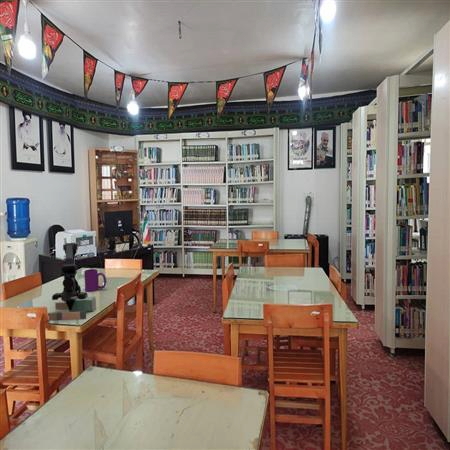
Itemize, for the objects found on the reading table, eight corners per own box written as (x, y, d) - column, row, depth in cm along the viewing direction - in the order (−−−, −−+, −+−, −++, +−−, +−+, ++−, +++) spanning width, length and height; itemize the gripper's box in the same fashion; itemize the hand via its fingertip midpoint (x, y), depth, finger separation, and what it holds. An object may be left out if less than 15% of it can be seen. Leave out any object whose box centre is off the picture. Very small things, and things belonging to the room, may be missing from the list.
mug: (88, 288, 264) (87, 269, 263) (108, 288, 264) (107, 268, 263) (83, 292, 255) (82, 271, 254) (104, 292, 255) (103, 271, 254)
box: (74, 308, 219) (73, 296, 218) (96, 307, 220) (95, 296, 219) (69, 312, 211) (69, 300, 211) (93, 311, 213) (92, 299, 212)
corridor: (56, 308, 219) (55, 302, 219) (95, 307, 221) (95, 301, 220) (42, 320, 199) (41, 313, 199) (85, 318, 201) (85, 312, 201)
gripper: (47, 288, 199) (48, 315, 200) (81, 287, 201) (82, 314, 202) (55, 283, 210) (56, 309, 211) (87, 282, 212) (88, 308, 213)
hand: (70, 310), depth 209 cm, fingers closed, pressing on box
